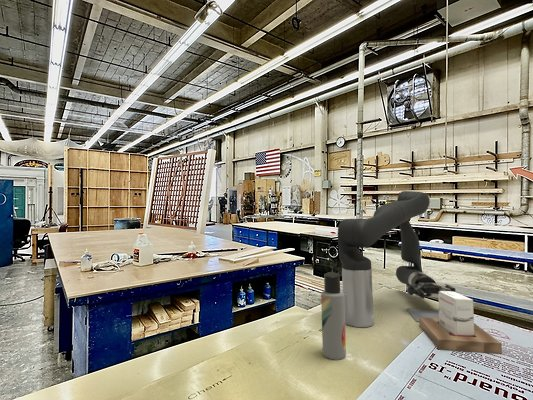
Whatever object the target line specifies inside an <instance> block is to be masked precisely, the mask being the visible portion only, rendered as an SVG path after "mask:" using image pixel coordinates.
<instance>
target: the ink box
mask: <svg viewBox="0 0 533 400" xmlns="http://www.w3.org/2000/svg"><path fill="white" fill-rule="evenodd" d="M438 295H439V296H438ZM438 295H437V296H438V310H439V325H440V326H441V327H442V328H443V329H444V330H445V331H446V332H447V333H448V334H449V335H450V336H464V337H474V323H475V321H474V320H475V318H474V317H475V316H474V312H475V311H474V300H473V298H470V297H467V296H466V295H462V294H460V293H458V292H452V291H439V292H438Z"/></svg>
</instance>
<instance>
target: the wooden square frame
mask: <svg viewBox="0 0 533 400" xmlns="http://www.w3.org/2000/svg"><path fill="white" fill-rule="evenodd" d="M418 323H419V325H418V326H419V327H420V328H421V329H422V331H423V332H424V333H425V335H426V336H427V335H428V336H429V337H428V336H427V337H428V338H429V339H430V341H431V342H432V341H433V342H432V343H433V344H434V345H435V347H436V346H437V347H436V348H437V349H438V350H443V351H453V352H454V351H455V352H470V353H485V354H486V353H487V354H500V355H501V354H503V348H502V345H503V343H502V342H501V341H499V340H497V339H496V338H495V337H494V336H493V335H491V334H490V333H488V332H487V331H485V330H484V329H483V328H482V327H481V326H479V325H477V324H476V323H475V322H474V337H464V336H450V335H449V334H448V333H447V332H446V331H445V330H444V329H443V328H442V327H441V326H440V325H439V318H421V317H419V322H418Z"/></svg>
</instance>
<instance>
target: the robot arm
mask: <svg viewBox="0 0 533 400" xmlns="http://www.w3.org/2000/svg"><path fill="white" fill-rule="evenodd" d="M430 202H431V201H430V196H429V195H428V194H427V193H426V192H423V191H408V190H403V191H400V193H399V194H398V196H397V200H395V201H390V202H387V203H385V204H382V205H380V206H379V207H377V208H376V209H375V210H374V212H373V214H372V215H373V216H372V217H368V218H344V219H342V220H341V221H340V222H339V224H338V227H337V242H338V243H337V244H338V245H337V246H338V257H339V261H340V263H341V278H342V279H341V281H342V285H341V286H342V289H341V292H343V293H344V305H345V326H346V325H348V326H351V327H356V328H369V327H372V326H374V324H375V322H374V320H375V319H374V296H373V294H374V293H373V274H372V271H373V269H372V261H371V260H370V258H369V257H367V256H365V255H363V254H362V253H361V252H360V251H359V250H358V248H369V247H371V246H373V245H374V244H375V243H377V241H378V240H379V239H381V238H382V237H383V236H384V235H385V234H387V233H389V232H390V231H392V230H394V229H396V228H398V227H399V230H400V238H401V239H400V240H401V245H400V247H401V248H400V257H401V258H400V259H401V260H402V261H403V262H406V263H410V264H412V265H400V266H398V267H397V268H396V270H395V275H396V278H397V280H398V281H399V282H400V283H402V284H404V285H406V292H407V293H408V294H409V295H410V296H414V295H415V296H417V297H419V298H420V299H425V298H429V297H431V296H438V297H439V295H438V292H439V291H452V292H456V288H455V287H453V286H451V285H450V284H447V283H446V284H444V285H441V284H437V282H436V281H435V279H434V278H432V277H431V276H429V275H428V274H426V273H424V272H423V269H422V265H421V260H420V247H421V246H420V239H419V237H418V235H417V233H416V232H415V230H414V228H413V227H412V225H411V222H410V220H411V219H412V218H415V217H418V216H420V215H424V214H425V213H426V212H427V211H428V209H429V206H430ZM456 293H457V292H456Z"/></svg>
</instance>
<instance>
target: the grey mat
mask: <svg viewBox="0 0 533 400" xmlns="http://www.w3.org/2000/svg"><path fill="white" fill-rule="evenodd" d="M405 311H407V312H408V314H409V315H410V316H411V317H412V319H413V320H414V321H415V322H416V323H419V317H421V318H439V309H422V308H421V309H420V308H406V310H405Z"/></svg>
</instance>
